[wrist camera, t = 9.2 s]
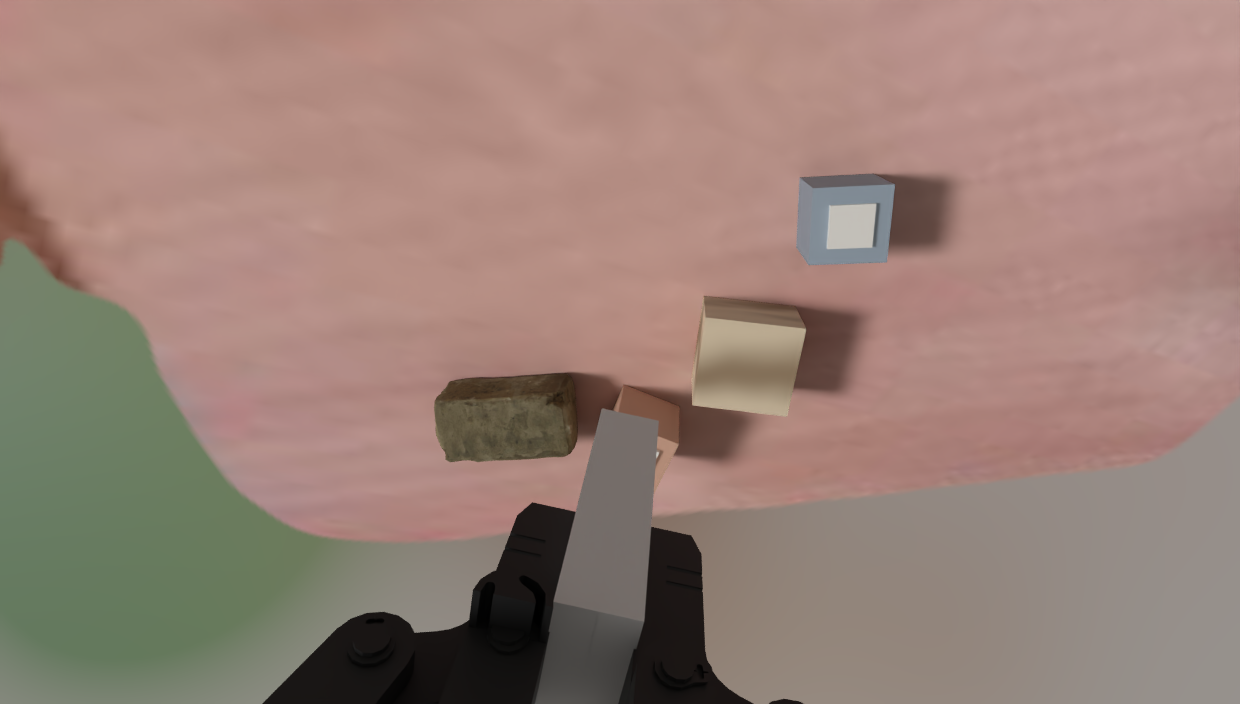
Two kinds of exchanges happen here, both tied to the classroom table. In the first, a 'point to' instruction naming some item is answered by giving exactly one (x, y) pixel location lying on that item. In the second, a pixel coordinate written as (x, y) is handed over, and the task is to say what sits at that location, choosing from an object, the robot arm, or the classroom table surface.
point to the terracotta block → (656, 410)
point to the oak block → (746, 356)
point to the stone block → (507, 418)
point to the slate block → (844, 219)
